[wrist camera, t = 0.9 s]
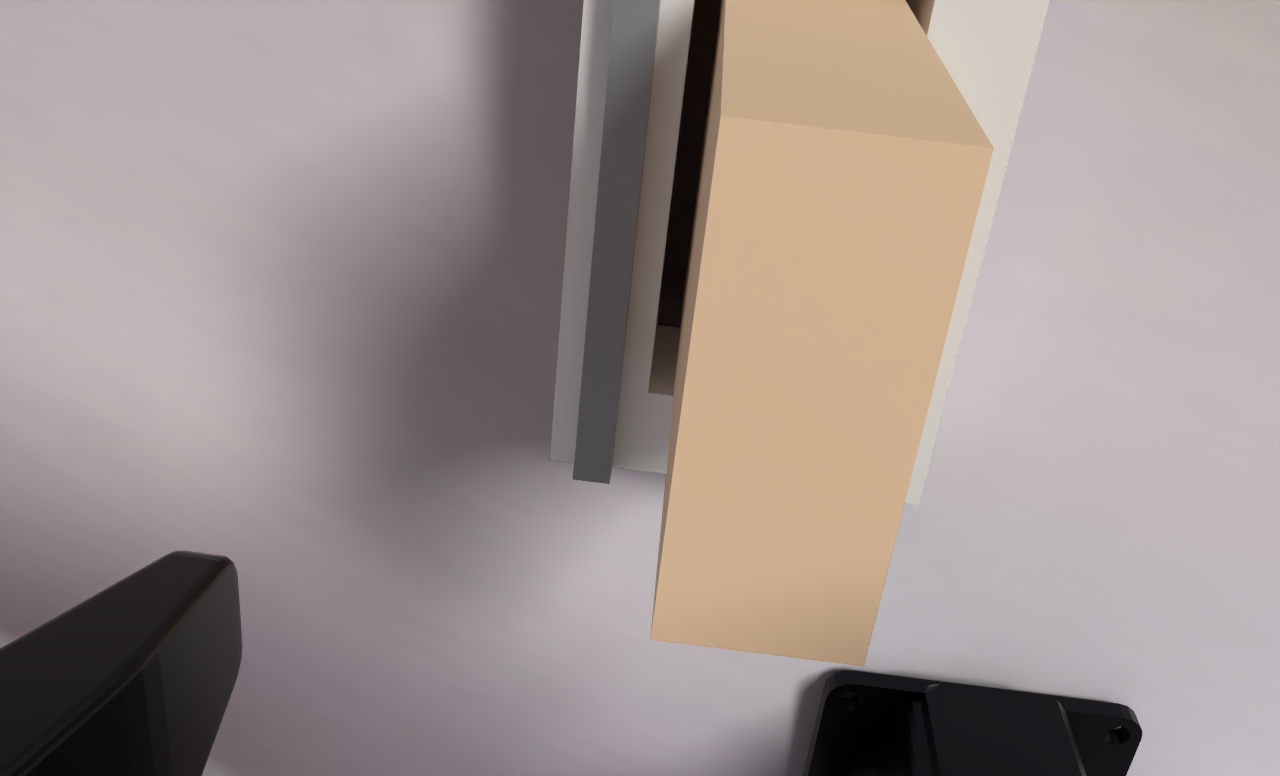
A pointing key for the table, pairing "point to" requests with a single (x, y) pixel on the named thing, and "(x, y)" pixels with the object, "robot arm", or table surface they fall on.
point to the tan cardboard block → (810, 322)
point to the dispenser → (641, 204)
